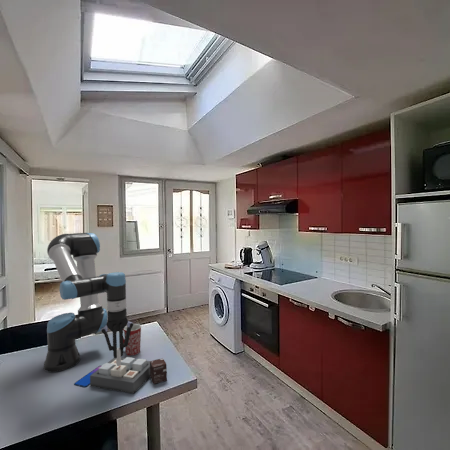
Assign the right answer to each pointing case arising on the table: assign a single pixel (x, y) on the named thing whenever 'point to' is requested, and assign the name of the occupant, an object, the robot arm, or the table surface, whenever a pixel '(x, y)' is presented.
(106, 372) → the key
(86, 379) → the smartphone
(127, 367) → the key
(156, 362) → the box
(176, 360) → the table surface
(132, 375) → the key
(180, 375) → the table surface
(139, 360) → the key
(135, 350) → the mug
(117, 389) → the keypad
